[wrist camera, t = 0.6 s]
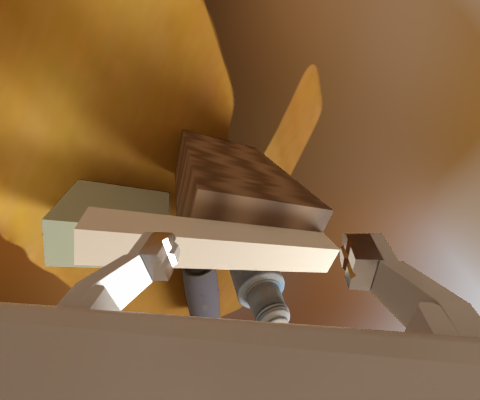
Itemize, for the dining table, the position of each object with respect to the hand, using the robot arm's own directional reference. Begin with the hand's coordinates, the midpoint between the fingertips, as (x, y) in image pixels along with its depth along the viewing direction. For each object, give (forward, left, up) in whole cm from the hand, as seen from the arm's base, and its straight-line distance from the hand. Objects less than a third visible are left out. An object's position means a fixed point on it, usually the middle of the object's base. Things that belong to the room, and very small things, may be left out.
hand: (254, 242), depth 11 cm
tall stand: (+9, -6, -42) cm, 43 cm away
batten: (+4, -7, -12) cm, 14 cm away
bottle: (+21, -21, -42) cm, 51 cm away
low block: (-6, -24, -42) cm, 48 cm away
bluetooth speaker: (+20, -42, -42) cm, 63 cm away
